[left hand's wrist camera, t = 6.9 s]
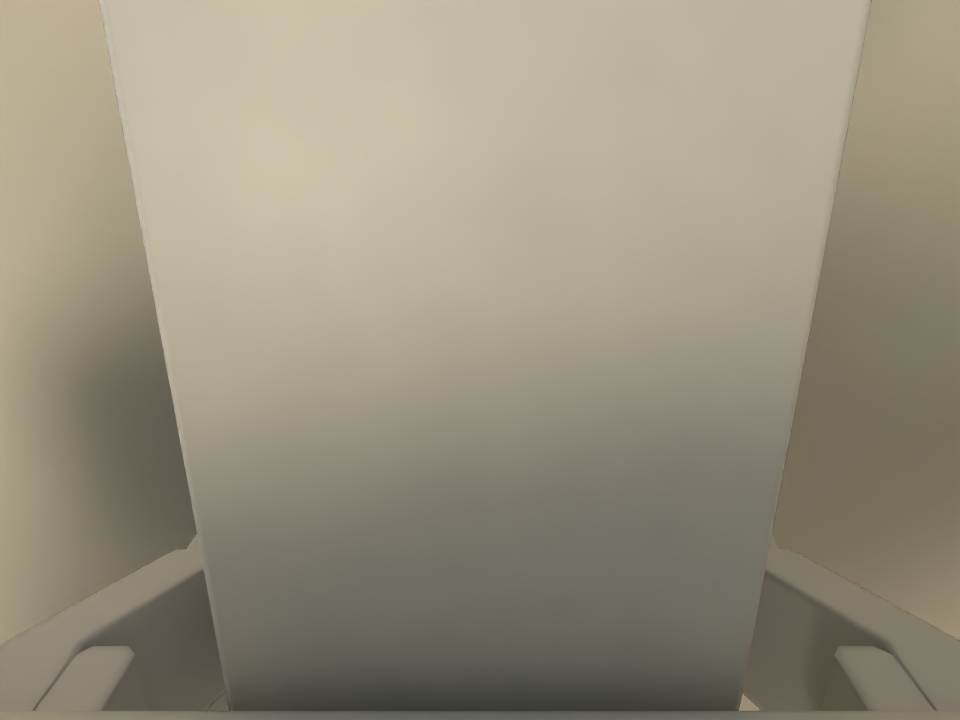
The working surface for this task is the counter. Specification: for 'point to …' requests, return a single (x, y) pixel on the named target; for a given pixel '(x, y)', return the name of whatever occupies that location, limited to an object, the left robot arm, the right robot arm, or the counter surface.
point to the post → (484, 331)
